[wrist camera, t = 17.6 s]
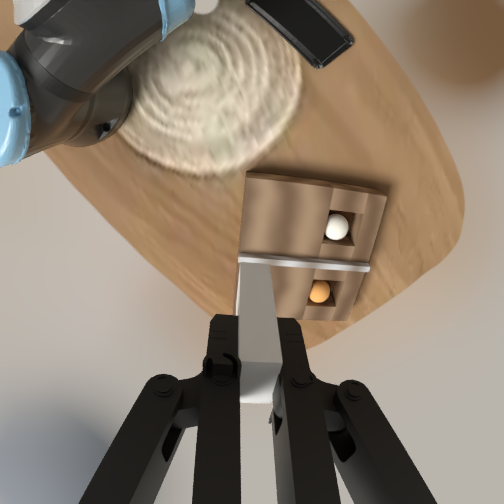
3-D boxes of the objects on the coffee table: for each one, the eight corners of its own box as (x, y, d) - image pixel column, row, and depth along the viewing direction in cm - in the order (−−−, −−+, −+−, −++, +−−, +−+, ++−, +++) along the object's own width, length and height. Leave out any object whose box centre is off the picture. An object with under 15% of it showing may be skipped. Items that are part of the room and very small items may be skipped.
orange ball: (313, 292, 54) (300, 299, 51) (317, 273, 52) (304, 279, 49) (331, 301, 51) (319, 309, 48) (336, 281, 50) (324, 288, 47)
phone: (318, 71, 34) (241, 0, 29) (316, 71, 35) (241, 2, 30) (356, 41, 32) (282, -28, 26) (354, 42, 33) (281, -26, 27)
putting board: (233, 303, 54) (232, 320, 49) (246, 171, 42) (246, 179, 38) (342, 309, 55) (349, 325, 51) (378, 189, 44) (390, 199, 39)
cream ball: (324, 232, 48) (318, 239, 44) (328, 208, 46) (322, 214, 43) (348, 238, 46) (343, 246, 43) (352, 214, 44) (347, 220, 41)
